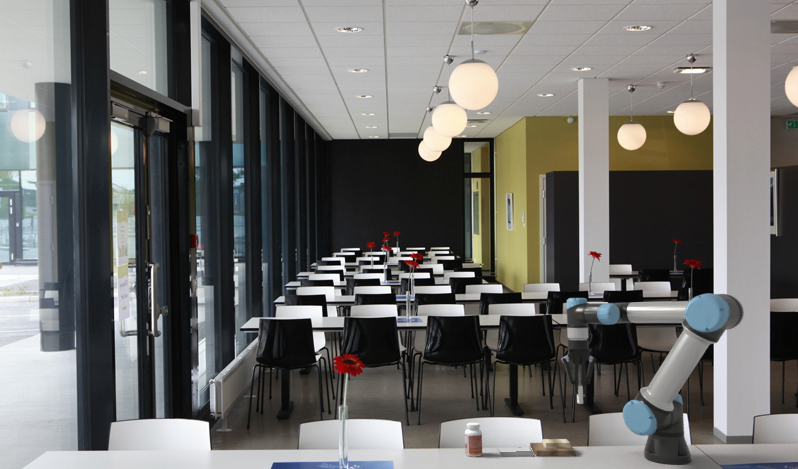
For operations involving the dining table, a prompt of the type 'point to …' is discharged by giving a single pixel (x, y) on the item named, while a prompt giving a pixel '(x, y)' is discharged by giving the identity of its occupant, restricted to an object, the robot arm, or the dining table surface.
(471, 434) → the pill bottle
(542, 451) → the board
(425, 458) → the dining table surface
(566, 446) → the birch tile
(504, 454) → the grey square plate
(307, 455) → the dining table surface
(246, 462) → the dining table surface
